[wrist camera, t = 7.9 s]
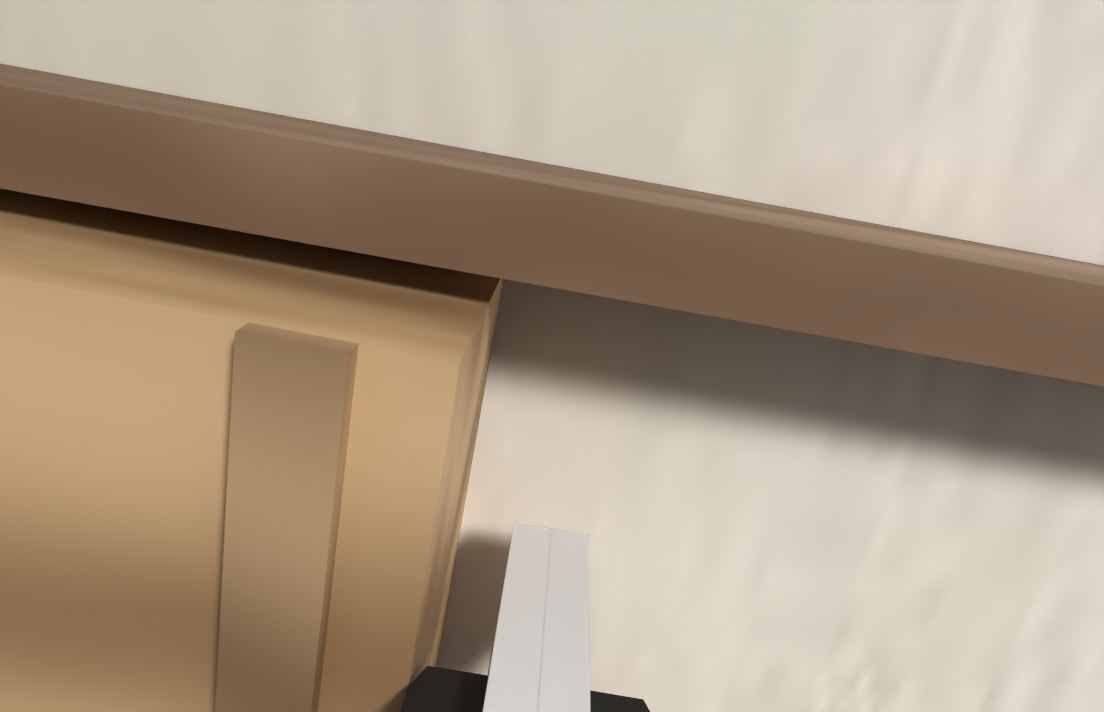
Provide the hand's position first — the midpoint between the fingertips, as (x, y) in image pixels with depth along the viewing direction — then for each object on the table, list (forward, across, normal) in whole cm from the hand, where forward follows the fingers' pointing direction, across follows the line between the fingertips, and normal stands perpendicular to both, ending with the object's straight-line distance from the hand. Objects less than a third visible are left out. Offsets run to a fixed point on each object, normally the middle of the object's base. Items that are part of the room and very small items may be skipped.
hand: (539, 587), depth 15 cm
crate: (+2, -7, +1) cm, 7 cm away
